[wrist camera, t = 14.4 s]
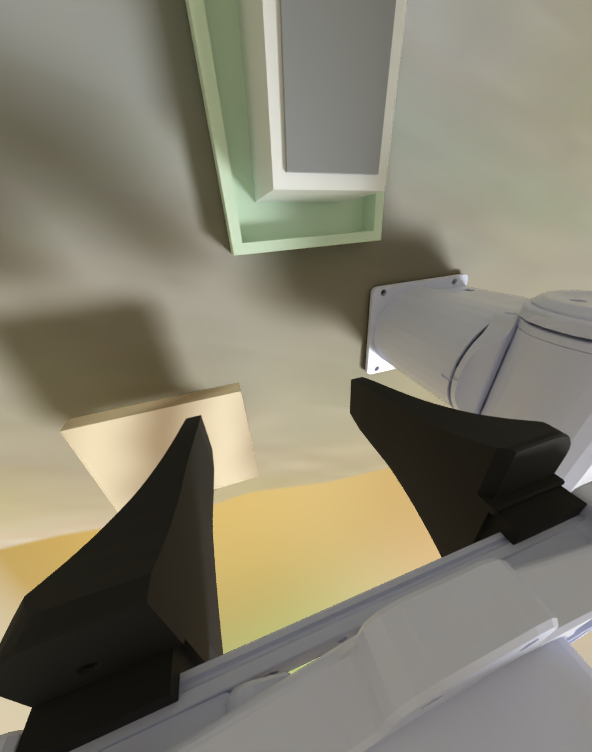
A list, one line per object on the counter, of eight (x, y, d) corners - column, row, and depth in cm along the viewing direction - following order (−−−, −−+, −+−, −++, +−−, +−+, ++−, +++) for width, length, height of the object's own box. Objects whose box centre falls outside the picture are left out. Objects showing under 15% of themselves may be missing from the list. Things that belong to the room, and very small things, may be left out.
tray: (380, -38, 13) (407, -80, 11) (365, 239, 19) (380, 240, 17) (171, -72, 10) (164, -132, 9) (231, 253, 17) (234, 255, 15)
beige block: (231, 347, 19) (240, 391, 14) (248, 426, 24) (261, 485, 18) (106, 370, 18) (59, 431, 12) (148, 452, 22) (127, 526, 16)
